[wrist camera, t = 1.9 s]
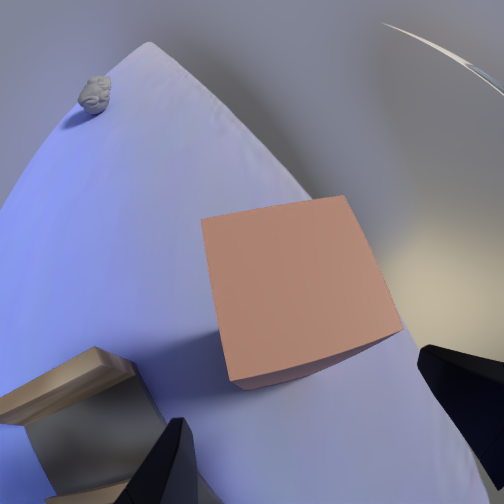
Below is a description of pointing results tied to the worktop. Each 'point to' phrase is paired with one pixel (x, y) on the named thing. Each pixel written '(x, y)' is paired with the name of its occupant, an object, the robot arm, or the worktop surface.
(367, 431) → the worktop surface
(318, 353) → the cabinet block
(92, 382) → the cleat board
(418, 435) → the worktop surface
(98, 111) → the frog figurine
